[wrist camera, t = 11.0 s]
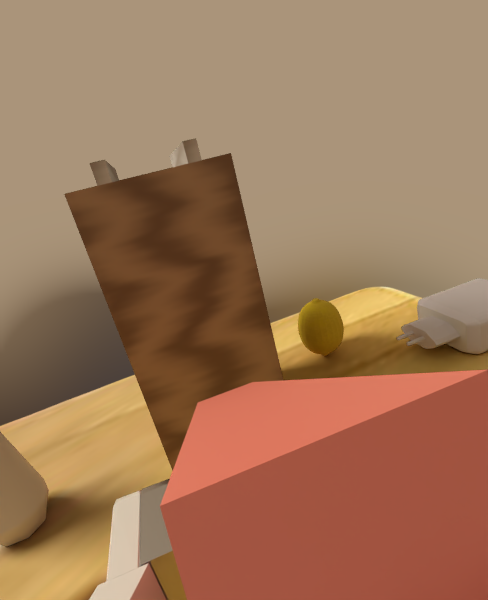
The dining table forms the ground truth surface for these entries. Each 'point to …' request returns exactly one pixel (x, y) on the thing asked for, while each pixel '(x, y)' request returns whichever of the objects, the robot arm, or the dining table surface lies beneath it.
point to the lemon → (320, 327)
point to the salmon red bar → (335, 490)
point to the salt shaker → (19, 496)
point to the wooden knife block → (179, 282)
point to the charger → (452, 319)
